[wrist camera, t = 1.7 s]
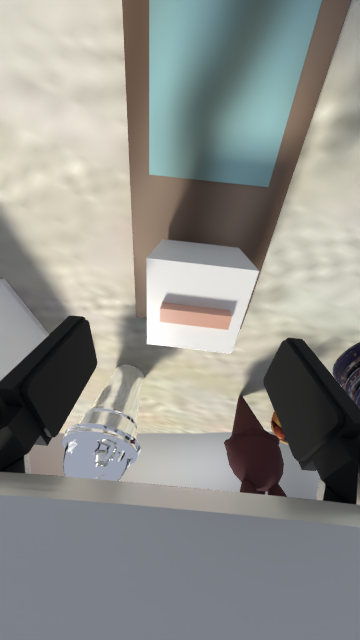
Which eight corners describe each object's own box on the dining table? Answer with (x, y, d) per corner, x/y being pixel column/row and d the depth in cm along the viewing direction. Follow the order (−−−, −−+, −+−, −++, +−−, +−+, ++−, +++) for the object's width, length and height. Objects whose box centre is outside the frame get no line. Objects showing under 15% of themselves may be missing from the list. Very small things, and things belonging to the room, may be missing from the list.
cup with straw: (111, 346, 26) (-45, 614, 9) (168, 370, 28) (127, 630, 11) (96, 379, 30) (-28, 604, 13) (146, 399, 32) (93, 616, 15)
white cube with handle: (238, 247, 15) (263, 275, 10) (221, 313, 19) (233, 361, 13) (162, 239, 15) (142, 262, 10) (159, 305, 19) (144, 351, 13)
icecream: (214, 407, 32) (227, 541, 19) (223, 378, 28) (246, 524, 15) (254, 411, 32) (293, 549, 19) (269, 383, 28) (330, 535, 15)
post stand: (353, -41, 10) (645, -488, 3) (238, 321, 22) (255, 369, 16) (127, -63, 10) (6, -534, 4) (139, 310, 22) (117, 353, 16)
